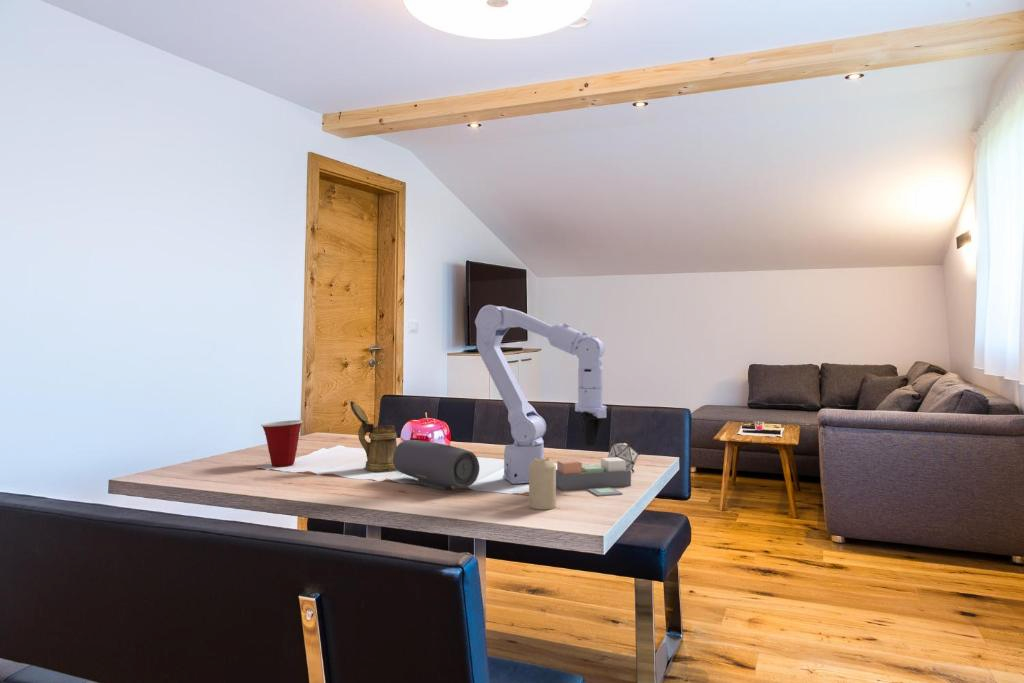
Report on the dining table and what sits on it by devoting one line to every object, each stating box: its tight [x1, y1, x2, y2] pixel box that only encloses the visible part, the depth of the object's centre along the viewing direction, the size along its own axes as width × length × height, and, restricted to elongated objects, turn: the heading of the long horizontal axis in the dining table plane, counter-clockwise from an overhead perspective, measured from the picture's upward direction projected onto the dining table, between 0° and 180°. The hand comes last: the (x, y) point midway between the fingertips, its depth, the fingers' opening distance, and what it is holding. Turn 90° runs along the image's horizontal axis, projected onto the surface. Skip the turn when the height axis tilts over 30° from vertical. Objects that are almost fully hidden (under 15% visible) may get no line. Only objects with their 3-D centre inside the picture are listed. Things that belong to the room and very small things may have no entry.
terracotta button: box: [556, 459, 583, 474], centre depth 157 cm, size 4×4×3 cm
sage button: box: [582, 464, 604, 473], centre depth 158 cm, size 4×4×3 cm
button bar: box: [556, 469, 632, 491], centre depth 158 cm, size 17×6×4 cm, turn 106°
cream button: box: [600, 457, 626, 472], centre depth 160 cm, size 4×4×3 cm
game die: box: [606, 439, 642, 473], centre depth 173 cm, size 9×8×10 cm
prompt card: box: [586, 487, 623, 497], centre depth 151 cm, size 6×6×1 cm
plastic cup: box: [260, 419, 304, 468], centre depth 183 cm, size 11×11×12 cm
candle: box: [528, 457, 557, 511], centre depth 139 cm, size 6×6×10 cm
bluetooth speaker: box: [393, 439, 480, 490], centre depth 159 cm, size 23×9×10 cm, turn 44°
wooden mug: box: [349, 400, 398, 473], centre depth 178 cm, size 9×14×18 cm, turn 84°
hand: (590, 445), depth 159 cm, fingers closed
